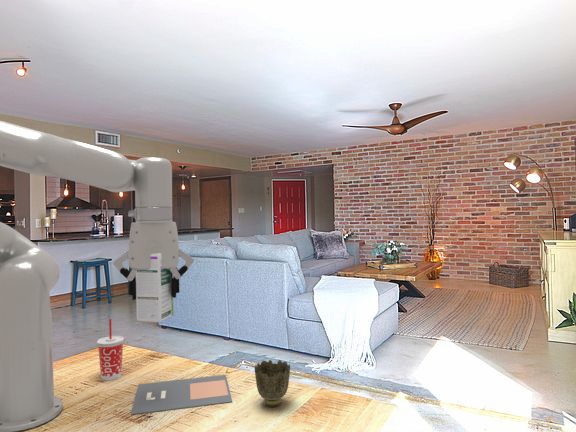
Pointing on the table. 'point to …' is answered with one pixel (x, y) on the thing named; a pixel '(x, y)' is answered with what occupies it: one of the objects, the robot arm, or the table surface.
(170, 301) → the syrup box
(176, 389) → the mat
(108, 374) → the beverage cup
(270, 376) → the cup
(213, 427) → the table surface
